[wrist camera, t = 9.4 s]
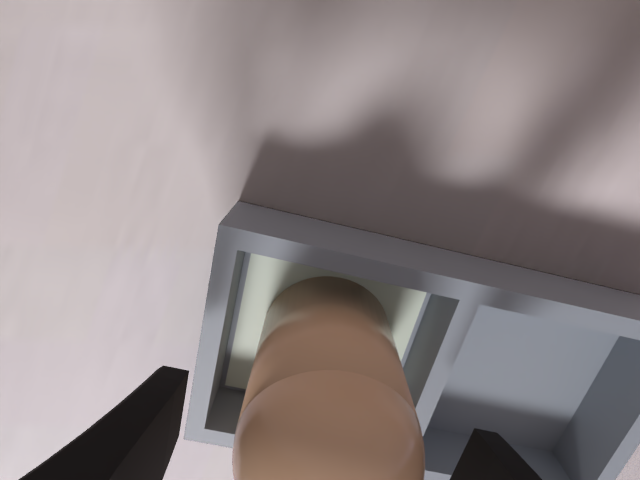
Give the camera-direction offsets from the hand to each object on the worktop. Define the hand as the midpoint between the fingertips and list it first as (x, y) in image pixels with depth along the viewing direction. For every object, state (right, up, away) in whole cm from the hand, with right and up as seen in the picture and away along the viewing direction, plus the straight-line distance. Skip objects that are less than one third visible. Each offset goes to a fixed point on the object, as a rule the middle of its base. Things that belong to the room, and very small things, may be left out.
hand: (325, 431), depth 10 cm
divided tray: (+3, +1, +5) cm, 6 cm away
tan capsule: (0, +1, +4) cm, 4 cm away
